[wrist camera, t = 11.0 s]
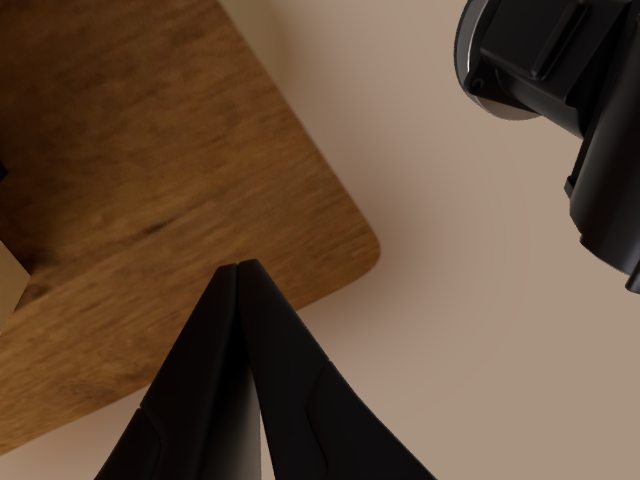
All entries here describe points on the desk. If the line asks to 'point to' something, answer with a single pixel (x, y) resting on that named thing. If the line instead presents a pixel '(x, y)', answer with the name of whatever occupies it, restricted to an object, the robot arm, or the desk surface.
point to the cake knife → (2, 171)
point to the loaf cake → (10, 284)
